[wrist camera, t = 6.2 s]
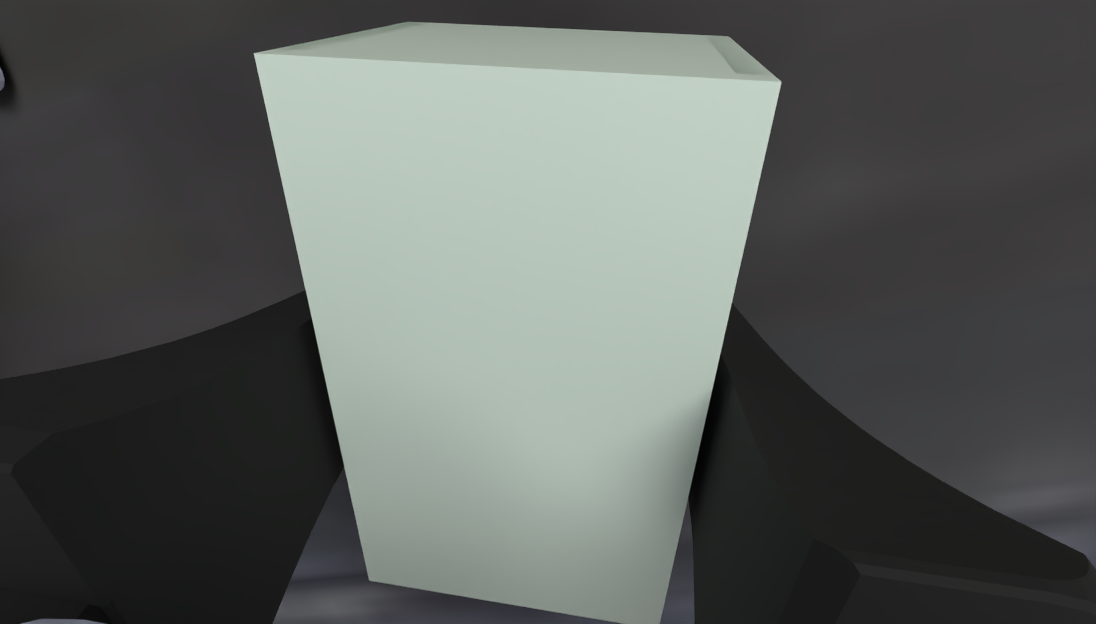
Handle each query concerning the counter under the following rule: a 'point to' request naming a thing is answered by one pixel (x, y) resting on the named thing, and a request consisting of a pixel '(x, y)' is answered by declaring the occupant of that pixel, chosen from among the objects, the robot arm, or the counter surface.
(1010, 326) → the counter surface
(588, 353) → the pale green block
